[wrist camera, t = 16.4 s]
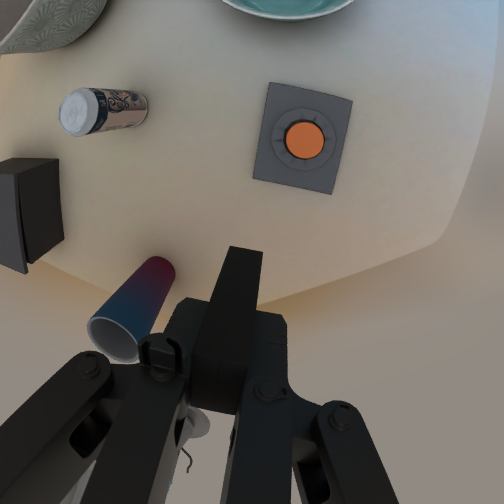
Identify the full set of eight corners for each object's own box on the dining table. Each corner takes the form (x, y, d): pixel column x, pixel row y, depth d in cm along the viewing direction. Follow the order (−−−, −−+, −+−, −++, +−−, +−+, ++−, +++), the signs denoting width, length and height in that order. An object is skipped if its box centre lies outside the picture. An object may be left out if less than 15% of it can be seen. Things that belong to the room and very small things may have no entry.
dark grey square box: (64, 239, 39) (31, 264, 31) (18, 227, 39) (-12, 247, 32) (58, 158, 33) (18, 173, 25) (11, 158, 33) (-24, 171, 25)
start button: (317, 159, 27) (319, 162, 26) (283, 152, 27) (283, 154, 26) (324, 126, 26) (327, 127, 24) (289, 118, 26) (290, 118, 24)
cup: (137, 282, 41) (90, 348, 28) (141, 244, 38) (83, 307, 25) (177, 296, 41) (140, 370, 28) (184, 259, 38) (140, 331, 25)
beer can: (155, 99, 29) (99, 96, 18) (139, 133, 31) (81, 145, 20) (126, 86, 28) (65, 82, 17) (111, 119, 30) (49, 128, 20)
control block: (328, 190, 32) (334, 199, 29) (254, 174, 32) (250, 182, 29) (348, 102, 27) (357, 100, 24) (270, 84, 27) (268, 79, 24)
